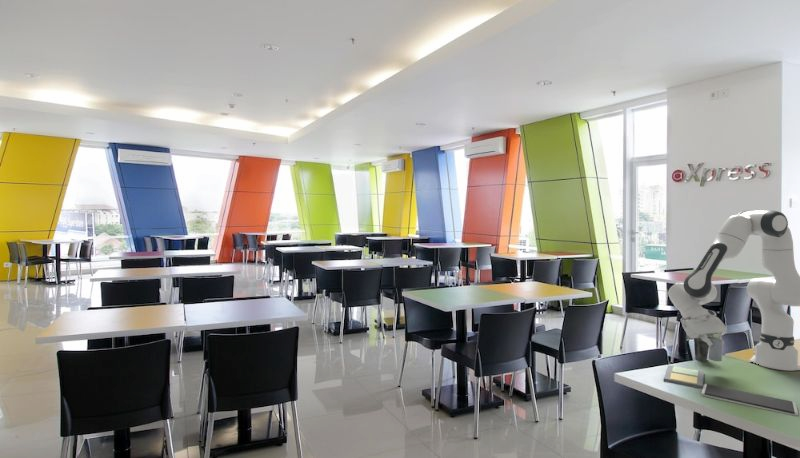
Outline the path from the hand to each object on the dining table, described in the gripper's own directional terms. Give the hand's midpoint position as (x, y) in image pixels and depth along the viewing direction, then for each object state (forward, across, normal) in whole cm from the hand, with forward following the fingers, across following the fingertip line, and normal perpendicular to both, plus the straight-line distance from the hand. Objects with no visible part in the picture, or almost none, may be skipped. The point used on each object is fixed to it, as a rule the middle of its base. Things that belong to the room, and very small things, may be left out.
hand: (717, 344), depth 196 cm
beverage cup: (-4, +14, +21) cm, 26 cm away
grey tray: (+26, -18, -8) cm, 33 cm away
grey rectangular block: (+4, 0, +5) cm, 6 cm away
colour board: (+8, -18, +9) cm, 21 cm away
